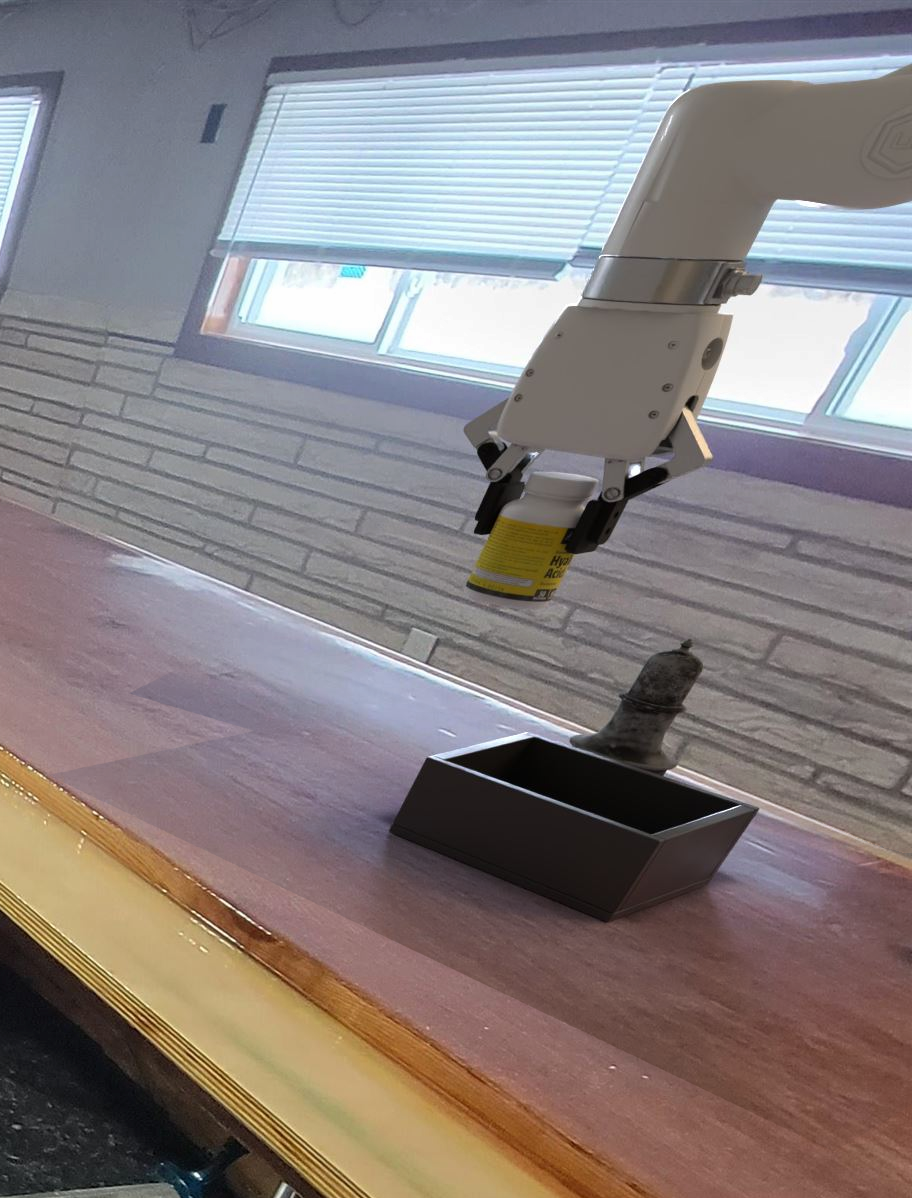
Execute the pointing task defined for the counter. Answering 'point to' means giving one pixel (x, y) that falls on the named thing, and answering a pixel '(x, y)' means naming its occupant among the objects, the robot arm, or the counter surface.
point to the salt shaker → (647, 712)
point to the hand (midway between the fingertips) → (533, 539)
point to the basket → (571, 823)
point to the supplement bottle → (530, 543)
